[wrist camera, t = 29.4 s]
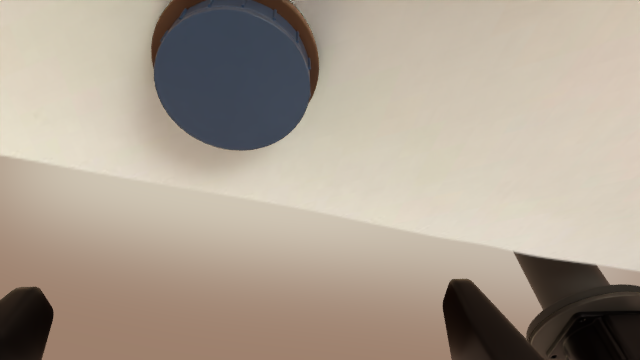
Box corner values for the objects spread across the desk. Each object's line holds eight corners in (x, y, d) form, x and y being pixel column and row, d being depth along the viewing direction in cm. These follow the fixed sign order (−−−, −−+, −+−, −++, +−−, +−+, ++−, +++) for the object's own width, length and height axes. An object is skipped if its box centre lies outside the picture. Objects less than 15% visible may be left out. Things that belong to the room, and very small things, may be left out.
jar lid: (246, 154, 22) (243, 173, 20) (133, 71, 18) (121, 88, 17) (339, 71, 19) (342, 88, 18) (225, -42, 16) (219, -31, 15)
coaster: (316, 131, 22) (317, 137, 21) (172, 131, 21) (169, 137, 21) (321, -22, 17) (321, -18, 16) (136, -25, 17) (131, -21, 16)
